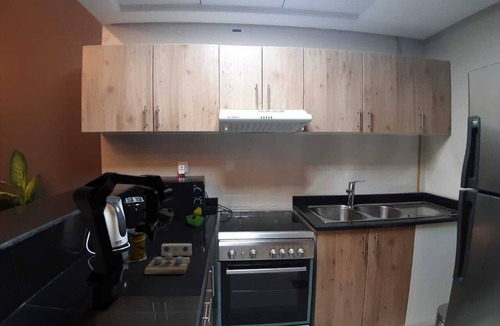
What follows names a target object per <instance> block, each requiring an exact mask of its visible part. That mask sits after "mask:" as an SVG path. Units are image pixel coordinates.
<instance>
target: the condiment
mask: <svg viewBox="0 0 500 326" xmlns="http://www.w3.org/2000/svg"><path fill="white" fill-rule="evenodd" d="M147 259H148V257H147V255H146V237H145V232H135V231H133V232H132V233H131V240H130V255H126V256H125V262H126V264H131V263H134V262H139V261H143V260H147Z"/></svg>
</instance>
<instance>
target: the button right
mask: <svg viewBox="0 0 500 326" xmlns="http://www.w3.org/2000/svg"><path fill="white" fill-rule="evenodd" d="M183 257H184V256H177V257H176V258H175V263H176V264H181V263H183Z"/></svg>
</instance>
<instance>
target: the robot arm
mask: <svg viewBox="0 0 500 326" xmlns="http://www.w3.org/2000/svg"><path fill="white" fill-rule="evenodd" d="M117 185H131V186H138V187H140V188H142V189H143V188H144V189H143V190H142V191H141V192H140V194H139V195H140V196H142V197H144V207H143V208H142V212H144V217H142V221H140V222H139V223H137V224H136V225H135V226H134V232H144V234H146V236H147V237H148V239H149V241H150V242H154V241H155V239H156V237H157V236H156V235H157V231H158V228H159V227H160V226H161V225H162V224H163V222H164V223H165V224H169V223H170V222H172V221H173V218H174V216H175V212H174V209H173V208H172V207H169V208H168V209H163V206H162V205H160V204H161V203H163V202H167V201H169V200H172V199H174V195H175V192H174V190H173V189H172V188H171V185H167V184H165V182H164V180H163V179H162V176H161V175H159V174H140V175H137V174H136V175H134V174H126V173H120V172H119V173H118V172H115V171H113V172H111V171H105V172H103V173H102V174H101V175H100V176H98V177H96V178H94V179H92V180H91V181H88V182H86V183H85V184H84V185H83V186H79V187H78V188H76V190H75V191H74V192H73V193H72V200H73V202H74V204H75V206H76V209H77V210H78V211H79V212H80V213H81V214H82V215H83V216H84V217H85V222H86V225H87V228H88V233H89V236H90V237H89V238H90V241H91V244H92V246H93V247H92V248H93V252H94V255H95V257H94V260H93V262H92V271H91V272H90V273H89V275H88V277H87V278H86V279H85V285H86V287H91V288H92V290H91V303H90V305H88V307H87V308H86V310H87V311H100V310H101V311H107V310H109V308H110V307H111V306H112V305H113V304H114V303H115V302H116V301H117V299H118V298H119V294H115V287H116V286H118V285H119V284H120V280H121V277H122V273H123V271H124V264H125V262H124V259H123V254H122V252H118V251H114V248H113V244H112V239H111V236H110V232H109V228H108V224H107V220H106V216H105V209H106V208H107V205H108V204H107V203H108V201H107V198H108V197H110V195H111V194H113V192H114V189H115V187H116V186H117Z"/></svg>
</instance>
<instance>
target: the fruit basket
mask: <svg viewBox="0 0 500 326" xmlns="http://www.w3.org/2000/svg"><path fill="white" fill-rule="evenodd" d="M201 215H202V208H201V207H199V206H197V208H196V209H195V210H194V211H193V214H191V215H187V216H186V219H187V223H188V225H191V226H194V227H199V226H202V225H203V223H204V222H203V221H204V219H205V217H204V216H201Z"/></svg>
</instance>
